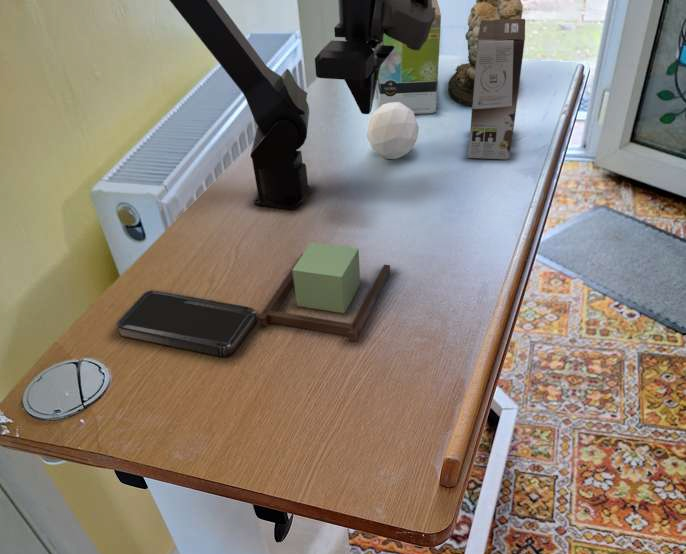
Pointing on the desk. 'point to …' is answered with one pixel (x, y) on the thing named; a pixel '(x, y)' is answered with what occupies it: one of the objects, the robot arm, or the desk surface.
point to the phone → (187, 322)
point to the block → (327, 277)
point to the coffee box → (496, 87)
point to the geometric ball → (392, 130)
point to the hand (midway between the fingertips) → (366, 113)
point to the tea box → (412, 72)
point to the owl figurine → (490, 5)
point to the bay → (315, 323)
